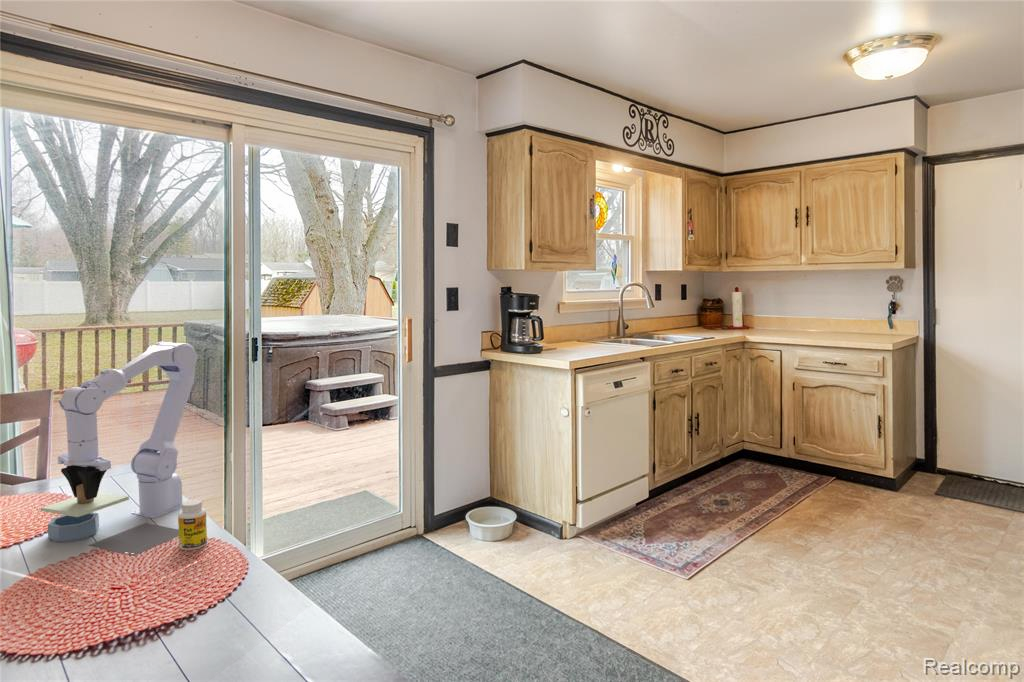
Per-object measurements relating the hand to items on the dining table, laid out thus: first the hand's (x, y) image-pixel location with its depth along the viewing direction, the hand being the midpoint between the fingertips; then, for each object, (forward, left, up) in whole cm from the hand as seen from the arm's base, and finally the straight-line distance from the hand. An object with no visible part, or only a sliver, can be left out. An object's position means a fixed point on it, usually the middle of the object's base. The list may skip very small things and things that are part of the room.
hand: (85, 497), depth 141 cm
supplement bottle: (-5, +27, -10) cm, 29 cm away
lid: (0, 0, -2) cm, 2 cm away
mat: (-3, +13, -9) cm, 16 cm away
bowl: (+1, -3, -9) cm, 10 cm away
